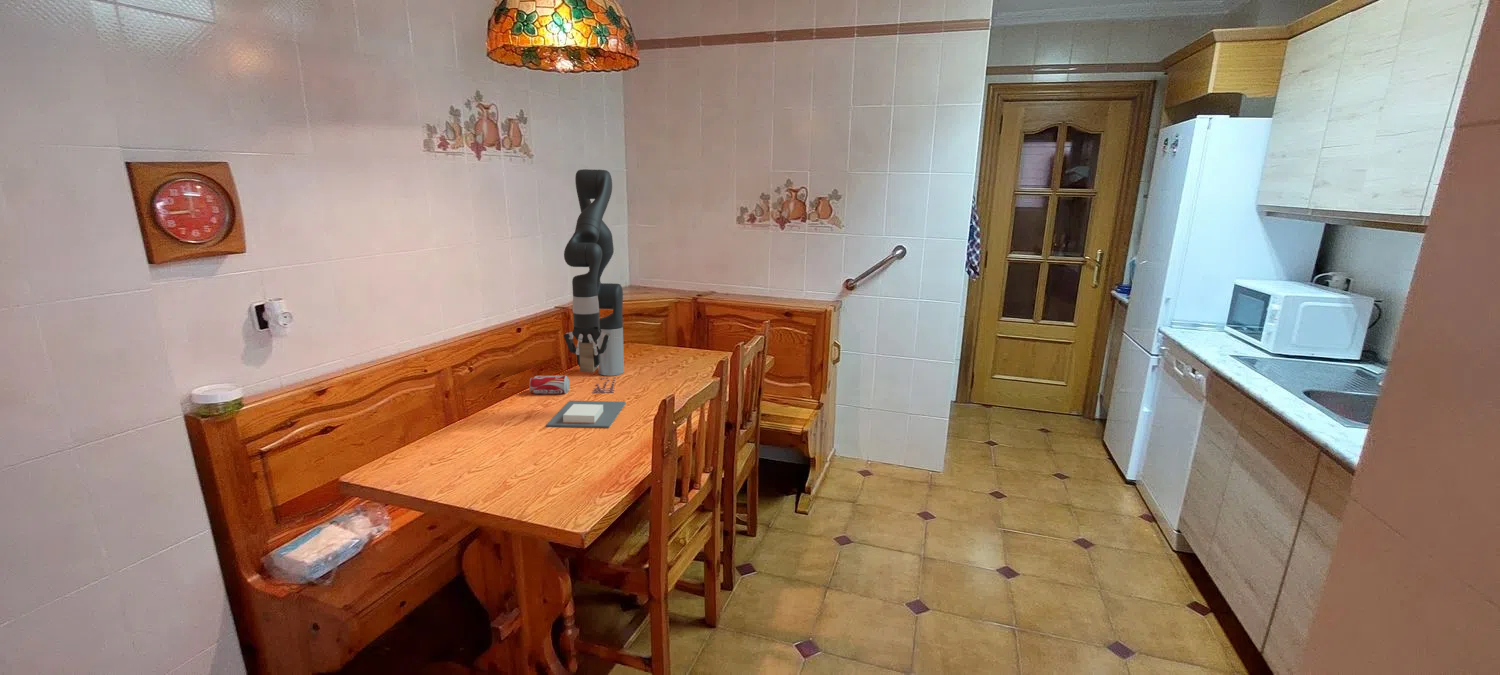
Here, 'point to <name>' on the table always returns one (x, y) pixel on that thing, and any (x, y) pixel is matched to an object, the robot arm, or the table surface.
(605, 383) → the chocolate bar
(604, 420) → the mat
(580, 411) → the tile
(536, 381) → the beverage can
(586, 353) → the block
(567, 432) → the table surface
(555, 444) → the table surface
